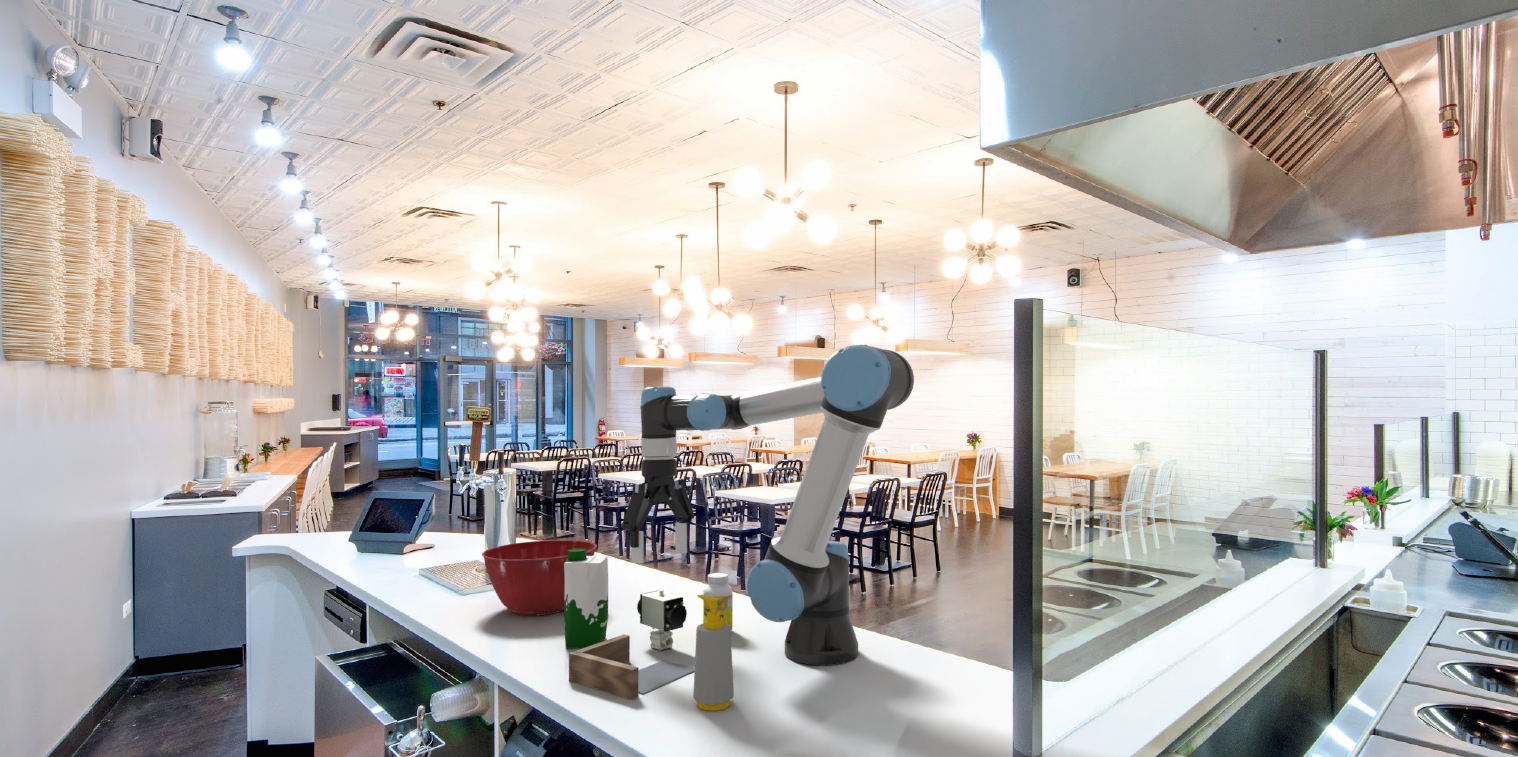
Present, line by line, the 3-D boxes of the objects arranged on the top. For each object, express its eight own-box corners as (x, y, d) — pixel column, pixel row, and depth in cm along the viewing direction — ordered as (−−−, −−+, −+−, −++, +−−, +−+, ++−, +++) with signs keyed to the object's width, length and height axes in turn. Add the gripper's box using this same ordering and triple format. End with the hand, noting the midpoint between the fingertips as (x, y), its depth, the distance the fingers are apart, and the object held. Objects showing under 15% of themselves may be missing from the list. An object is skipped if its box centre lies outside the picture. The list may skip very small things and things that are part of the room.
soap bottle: (712, 693, 128) (711, 590, 129) (742, 702, 123) (741, 596, 124) (684, 705, 122) (684, 597, 123) (714, 715, 118) (714, 604, 119)
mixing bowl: (455, 619, 176) (456, 555, 177) (525, 592, 204) (526, 536, 204) (557, 628, 168) (557, 561, 169) (616, 598, 195) (616, 541, 196)
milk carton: (570, 636, 161) (571, 546, 162) (611, 636, 161) (611, 545, 162) (559, 649, 152) (560, 553, 154) (602, 649, 153) (603, 553, 154)
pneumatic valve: (669, 656, 147) (669, 596, 148) (636, 644, 156) (636, 587, 156) (690, 650, 151) (690, 592, 152) (656, 638, 160) (656, 583, 160)
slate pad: (697, 669, 140) (697, 668, 140) (643, 694, 127) (643, 693, 127) (663, 660, 145) (663, 659, 145) (607, 683, 132) (607, 682, 132)
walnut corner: (685, 675, 137) (685, 648, 137) (631, 699, 125) (631, 669, 125) (623, 659, 146) (623, 634, 146) (568, 680, 134) (568, 652, 135)
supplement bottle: (698, 634, 162) (697, 576, 163) (711, 626, 168) (710, 570, 169) (725, 637, 160) (724, 579, 160) (737, 629, 166) (737, 572, 167)
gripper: (684, 455, 169) (685, 547, 168) (603, 461, 148) (604, 565, 147) (709, 455, 165) (710, 550, 163) (629, 461, 144) (630, 569, 143)
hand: (660, 557), depth 155 cm, fingers open, 13 cm apart
